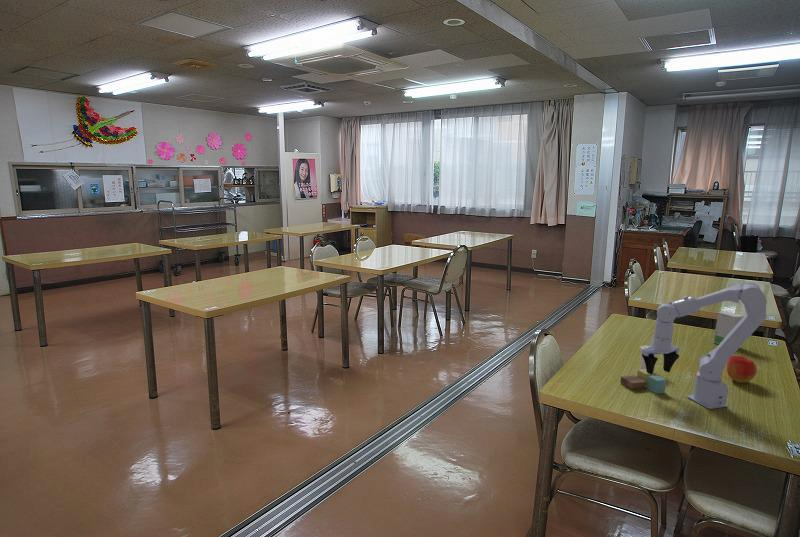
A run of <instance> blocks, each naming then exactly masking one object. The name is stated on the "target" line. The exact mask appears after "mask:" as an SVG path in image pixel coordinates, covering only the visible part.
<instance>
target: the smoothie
mask: <svg viewBox="0 0 800 537" xmlns="http://www.w3.org/2000/svg"><path fill="white" fill-rule="evenodd" d="M649 343H650V344H649V345H645V344H644V345H640V346H639V350H640V370H641V369H646V365H645V361H644V359H643V357H642V352H643V349H646V348H649V347H651V345H653V337H650V342H649ZM656 355H657V354H654V357H657V356H656Z"/></svg>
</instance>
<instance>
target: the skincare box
mask: <svg viewBox="0 0 800 537" xmlns="http://www.w3.org/2000/svg"><path fill="white" fill-rule="evenodd" d="M717 313H718V314H717V319H716V324H715V329H714V335H713V340H712V343H713V344H715V343H716V344H715V345H718V344H720V343H721V342H722V340H723V339H724V338H725V337H726V336H727V335H728V334H729V333H730V331H731V330H732V329H733V328H734V327H735V326H736V325H737V324H738V322H739V321H740V320H741V319H742V318H743V317H744V316H745V315H743V314H738V313H737V312H732V311H729V310H728V311H727V310H724V311H719V312H717Z"/></svg>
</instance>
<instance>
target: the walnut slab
mask: <svg viewBox="0 0 800 537" xmlns="http://www.w3.org/2000/svg"><path fill="white" fill-rule="evenodd" d="M619 383H620V384H621V385H622V384H623V385H622V386H624V387H625V388H627V389H628V390H631V391H634V390H636V391H637V390H643V389H645V390H646V386H645V385H646V382H645V381H644V380H642V379H640V378H638V377H637V375H634V374H632V375H622V376H620V382H619Z"/></svg>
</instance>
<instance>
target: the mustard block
mask: <svg viewBox="0 0 800 537" xmlns="http://www.w3.org/2000/svg"><path fill="white" fill-rule="evenodd" d="M636 376H637V377H638V378H640V379H642V380H644V381H645V382H646V385H645V387H648V379H649V376H655V372H653V374H649V373H647V371H646V369H641V368H640V369H637V374H636Z"/></svg>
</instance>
